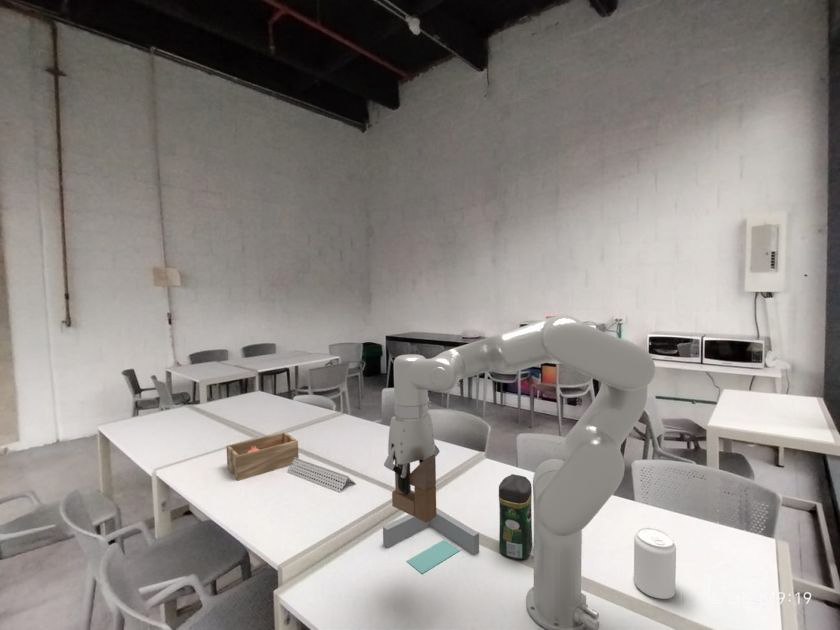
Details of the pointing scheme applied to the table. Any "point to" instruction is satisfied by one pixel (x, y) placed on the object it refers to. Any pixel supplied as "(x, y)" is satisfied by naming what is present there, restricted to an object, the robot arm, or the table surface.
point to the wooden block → (418, 491)
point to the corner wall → (440, 523)
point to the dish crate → (261, 455)
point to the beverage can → (654, 562)
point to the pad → (432, 556)
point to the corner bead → (318, 469)
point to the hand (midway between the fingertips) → (413, 488)
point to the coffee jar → (515, 516)
